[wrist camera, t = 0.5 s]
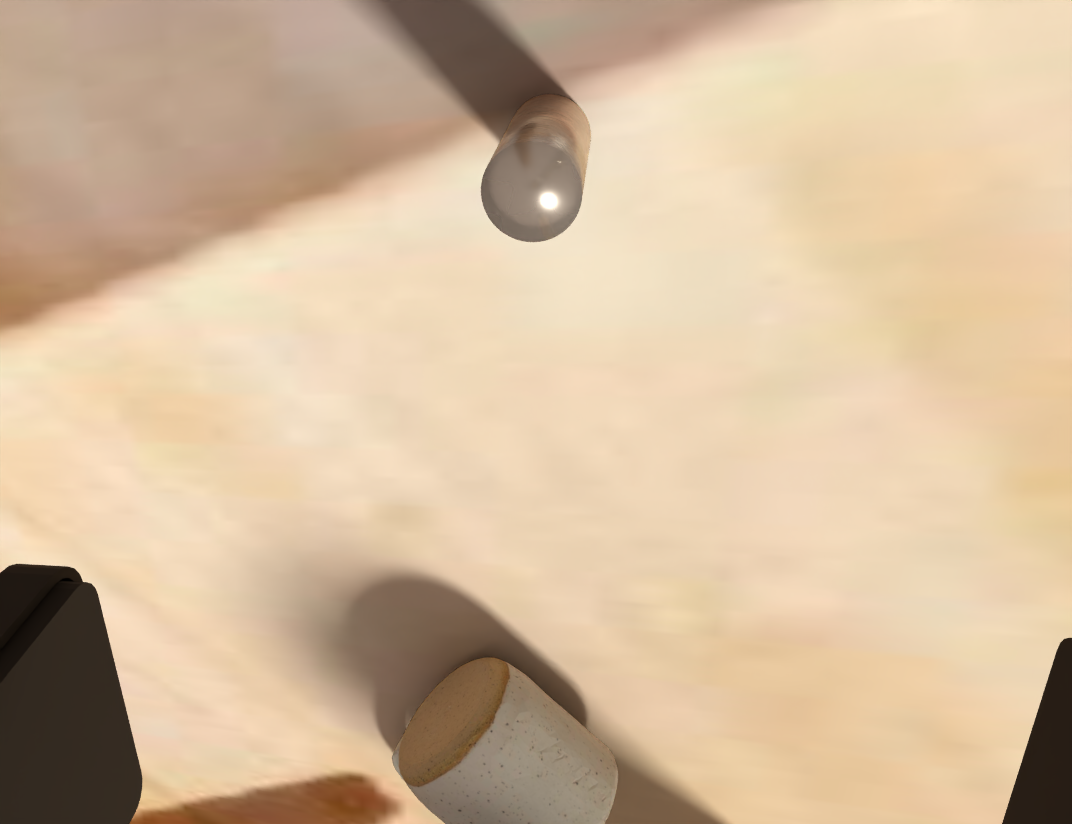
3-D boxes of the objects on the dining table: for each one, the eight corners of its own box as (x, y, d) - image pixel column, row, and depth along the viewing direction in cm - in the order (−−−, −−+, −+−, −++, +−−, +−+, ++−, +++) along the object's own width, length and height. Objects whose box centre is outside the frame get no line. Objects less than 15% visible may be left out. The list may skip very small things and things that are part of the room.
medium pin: (577, 83, 35) (565, 128, 28) (600, 164, 37) (594, 226, 30) (498, 108, 36) (467, 158, 29) (524, 186, 37) (499, 253, 30)
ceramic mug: (508, 618, 47) (485, 742, 40) (623, 719, 49) (620, 852, 42) (362, 722, 51) (319, 849, 44) (475, 810, 53) (450, 945, 46)
